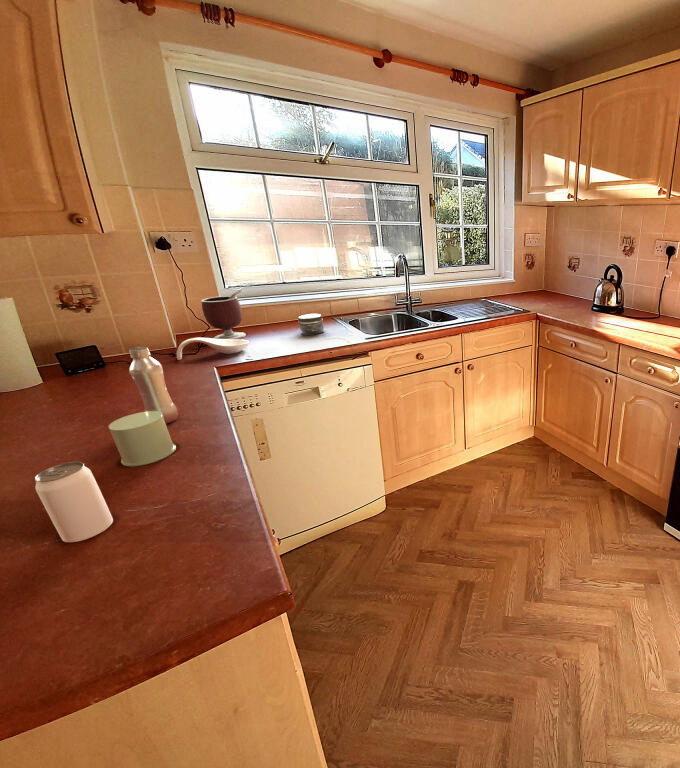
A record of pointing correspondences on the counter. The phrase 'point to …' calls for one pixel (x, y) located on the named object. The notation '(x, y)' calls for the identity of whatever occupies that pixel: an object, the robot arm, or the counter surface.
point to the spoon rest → (217, 345)
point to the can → (73, 501)
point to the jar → (311, 324)
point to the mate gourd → (224, 315)
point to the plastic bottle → (151, 383)
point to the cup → (142, 438)
